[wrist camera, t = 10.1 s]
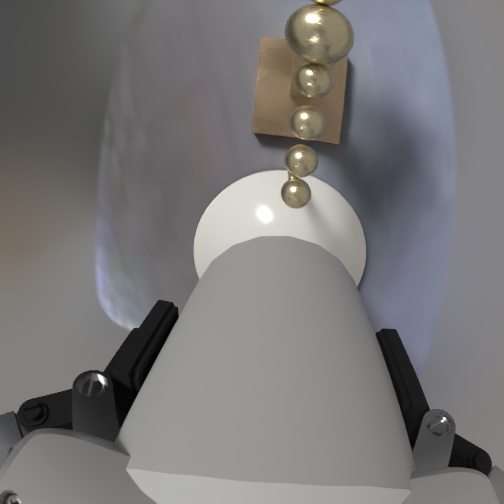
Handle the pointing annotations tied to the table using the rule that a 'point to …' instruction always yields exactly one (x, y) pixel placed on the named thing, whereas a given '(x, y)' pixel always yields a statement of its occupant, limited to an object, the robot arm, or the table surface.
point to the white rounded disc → (280, 220)
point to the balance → (304, 89)
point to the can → (270, 390)
